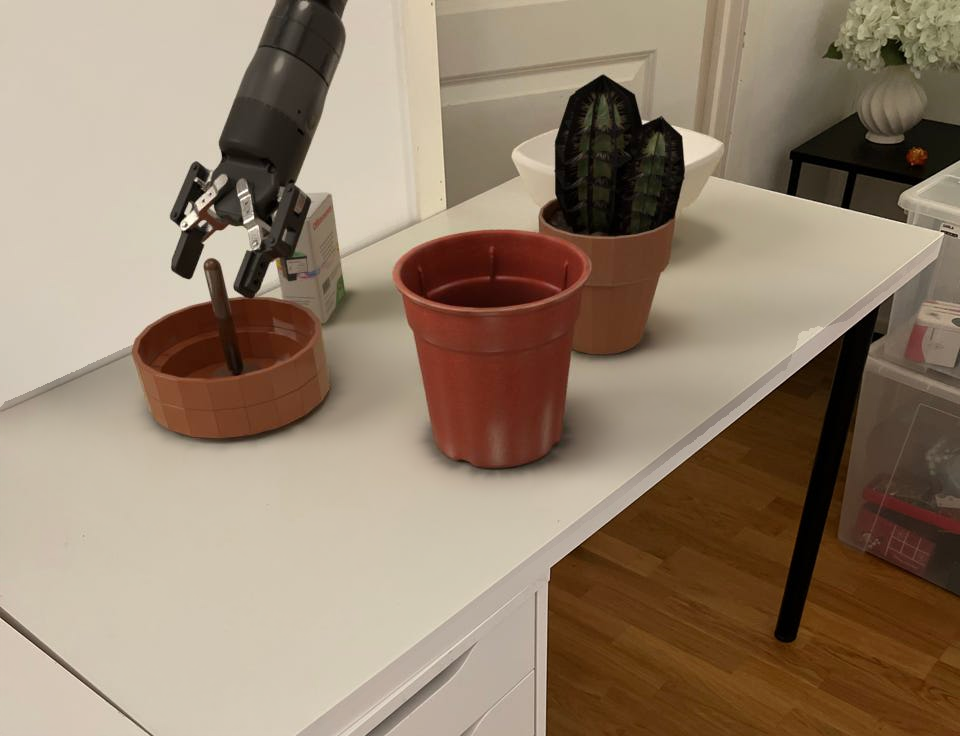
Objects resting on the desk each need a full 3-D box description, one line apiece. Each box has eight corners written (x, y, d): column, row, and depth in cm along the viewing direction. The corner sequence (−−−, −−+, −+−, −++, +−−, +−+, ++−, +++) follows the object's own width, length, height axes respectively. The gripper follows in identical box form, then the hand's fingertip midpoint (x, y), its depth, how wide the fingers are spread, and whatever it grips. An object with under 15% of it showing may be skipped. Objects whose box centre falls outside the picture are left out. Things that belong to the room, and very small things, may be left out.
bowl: (606, 201, 136) (610, 109, 128) (736, 240, 123) (749, 142, 115) (490, 246, 125) (487, 150, 117) (620, 294, 113) (626, 190, 105)
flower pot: (530, 504, 83) (529, 325, 72) (375, 455, 89) (352, 285, 78) (614, 416, 93) (624, 247, 82) (469, 378, 99) (460, 218, 88)
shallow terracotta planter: (117, 400, 99) (97, 340, 95) (263, 338, 108) (252, 281, 104) (214, 465, 89) (197, 401, 85) (366, 392, 98) (358, 331, 94)
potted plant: (567, 376, 99) (573, 105, 82) (520, 322, 108) (516, 70, 91) (687, 351, 102) (717, 85, 85) (631, 301, 111) (647, 53, 94)
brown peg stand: (205, 391, 99) (171, 260, 89) (247, 372, 101) (218, 243, 92) (233, 408, 96) (201, 274, 87) (276, 389, 98) (249, 257, 89)
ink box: (307, 292, 117) (290, 190, 109) (347, 293, 116) (332, 191, 108) (285, 323, 111) (265, 217, 103) (326, 325, 110) (309, 218, 102)
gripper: (193, 84, 89) (130, 251, 90) (306, 103, 83) (236, 283, 84) (247, 131, 96) (188, 286, 97) (355, 152, 89) (290, 318, 90)
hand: (210, 284), depth 90 cm, fingers open, 8 cm apart
